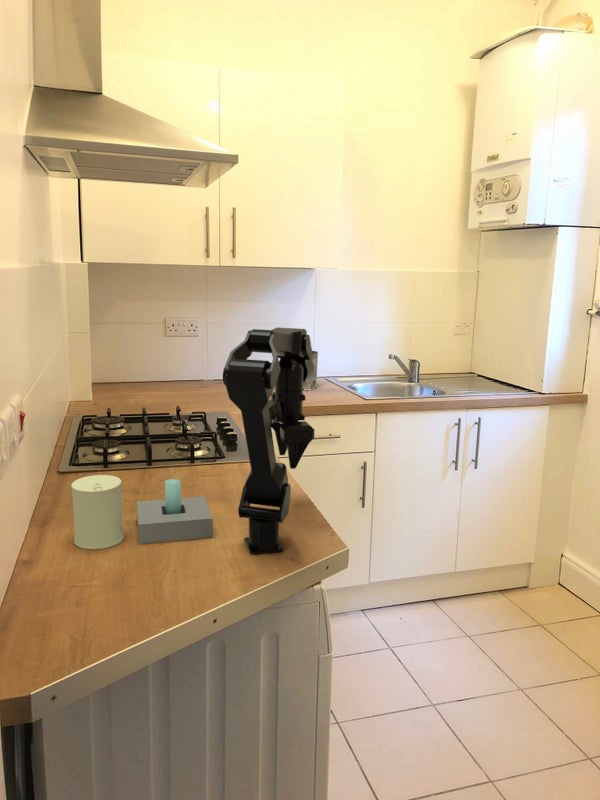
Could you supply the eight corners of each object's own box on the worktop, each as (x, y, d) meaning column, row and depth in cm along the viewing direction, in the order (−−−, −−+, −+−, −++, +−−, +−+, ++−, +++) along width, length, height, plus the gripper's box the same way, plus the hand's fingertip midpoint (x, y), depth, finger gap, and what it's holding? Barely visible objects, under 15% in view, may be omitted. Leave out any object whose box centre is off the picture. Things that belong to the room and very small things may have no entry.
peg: (181, 530, 129) (181, 483, 127) (166, 532, 128) (165, 484, 126) (180, 524, 132) (179, 478, 130) (165, 525, 131) (164, 479, 129)
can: (76, 553, 119) (72, 491, 116) (72, 533, 127) (68, 475, 124) (127, 545, 122) (125, 485, 120) (120, 526, 130) (117, 470, 128)
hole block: (212, 537, 126) (212, 518, 125) (139, 544, 123) (138, 524, 122) (204, 513, 138) (204, 496, 137) (137, 519, 134) (136, 501, 133)
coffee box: (290, 388, 271) (291, 349, 267) (300, 385, 275) (301, 348, 272) (307, 391, 265) (308, 352, 261) (317, 389, 270) (318, 350, 266)
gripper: (242, 381, 139) (241, 450, 142) (259, 400, 121) (258, 478, 125) (292, 380, 142) (290, 448, 145) (316, 398, 124) (313, 475, 128)
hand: (287, 461), depth 136 cm, fingers open, 9 cm apart
